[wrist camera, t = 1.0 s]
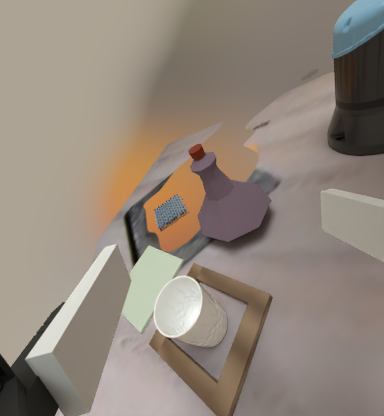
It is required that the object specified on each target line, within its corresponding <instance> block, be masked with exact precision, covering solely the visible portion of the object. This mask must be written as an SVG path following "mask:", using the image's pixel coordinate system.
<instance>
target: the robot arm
mask: <svg viewBox="0 0 384 416" xmlns="http://www.w3.org/2000/svg"><path fill="white" fill-rule="evenodd" d="M332 58H334V74H335V97H336V107H335V111H334V114H333V117H332V120H331V123H330V126H329V129H328V142H329V145H330V146H331V147H332V148H333V149H334V150H336V151H338V152H341V153H345V154H351V155H370V154H378V153H383V152H384V0H357V1H356V2H354V3H353V4H352V5H351V6H350V7H349V8H348V9H347V10H346V11H345V12H344V13H343V14H342V15H341V16H340V18H339V19H338V21H337V22H336V24H335V27H334V30H333V51H332ZM320 192H321V220H322V231H324V232H326V233H328V234H330V235H332V236H334V237H336V238H338V239H340V240H342V241H343V242H345V243H347V244H349V245H351V246H353V247H355V248H357V249H359V250H361V251H363V252H365V253H367V254H368V255H370V256H372V257H374V258H376V259H378V260H380V261H382V262H384V200H382V199H378V198H373V197H369V196H364V195H360V194H356V193H351V192H347V191H342V190H338V189H333V188H331V189H327V190H323V191H320ZM130 284H131V278H130V275H129V273H128V270H127V268H126V265H125V263H124V260H123V258H122V255H121V253H120V250H119V248H118V245H117V244H115V245H111V246H108V247H105V248H104V249H103V250H102V252H101V253H100V255H99V256H98V257H97V259H96V260H95V262H94V263H93V264H92V266H91V267H90V269H89V270H88V272H87V273H86V274H85V276H84V277H83V279H82V280H81V281H80V283H79V284H78V286H77V287H76V288H75V290H74V291H73V293H72V294H71V295H70V297H69V299H68V300H67V301H66V302H63V303H62V304H61V305H60V306H59V307H58V308H56V309H55V310H54V311H53V312H52V313H51V314H50V316H49V317H48V318H47V320H46V321H45V322H44V325H43V326H41V328H40V329H39V330H38V332H37V334H36V335H35V336H34V337H33V338H32V340H31V341H30V342H29V344H28V345H27V346H26V348H25V349H24V350H23V352H22V353H21V354H20V356H19V357H18V358H17V360H16V361H15V362H14V364H13V365H12V366H11V368H10V366H9V365H8V364H7V362H6V361H5V359H4V358H3V357H2V356H1V354H0V416H55V414H56V412H57V410H58V408H59V409H60V410H61V412H62V413H63V414H64V416H78V415H82V414H85V413H89V412H90V410H91V407H92V404H93V401H94V398H95V394H96V391H97V388H98V385H99V382H100V379H101V375H102V372H103V369H104V366H105V363H106V360H107V357H108V353H109V350H110V347H111V344H112V341H113V338H114V335H115V331H116V328H117V325H118V322H119V319H120V316H121V313H122V309H123V306H124V303H125V300H126V297H127V294H128V290H129V287H130Z"/></svg>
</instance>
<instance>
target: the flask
mask: <svg viewBox="0 0 384 416" xmlns="http://www.w3.org/2000/svg"><path fill="white" fill-rule="evenodd" d="M188 152H189V154H190V155H191V157H192V158H193V159H194V160H193V162H192V164H191V166H190V167H191V170H192V172H194V173H196V174H198V175H199V176H200V178H201V179H202V182H203V185H204V189H205V192H206V195H205V199H204V202H203V205H202V207H201V209H200V212H199V214H198V219H199V223H200V226H201V230H202V234H203V235H204V236H208V237H211V238H215V239H219V240H223V241H226V242H229V241H232V240H234V239H236V238H239V237H241V236H243V235H245V234H247V233H249V232H251V231H253V230H255V229H256V228H258V227H260V224H261V222H262V220H263V218H264V215H265V213H266V211H267V209H268V207H269V204H270V202H271V199H270V198H269V197H268V196H267V194H266V193H265V192H264V191H263V189H262V188H261V187H260V186H259V184H258V183H246V182H239V181H234V180H230V179H229V178H228V177H227V176H226V175H225V174H224V173H223V172H222V171H221V170H220V169H219V168H218V167H217V165H216V156H215V154H214V153H213V152H212V153H210V152H209V153H205V152H204V150H203V148H202V145H201V144H197V145H195V146H193V147H192V148H191V149H190V150H189V151H188Z"/></svg>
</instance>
